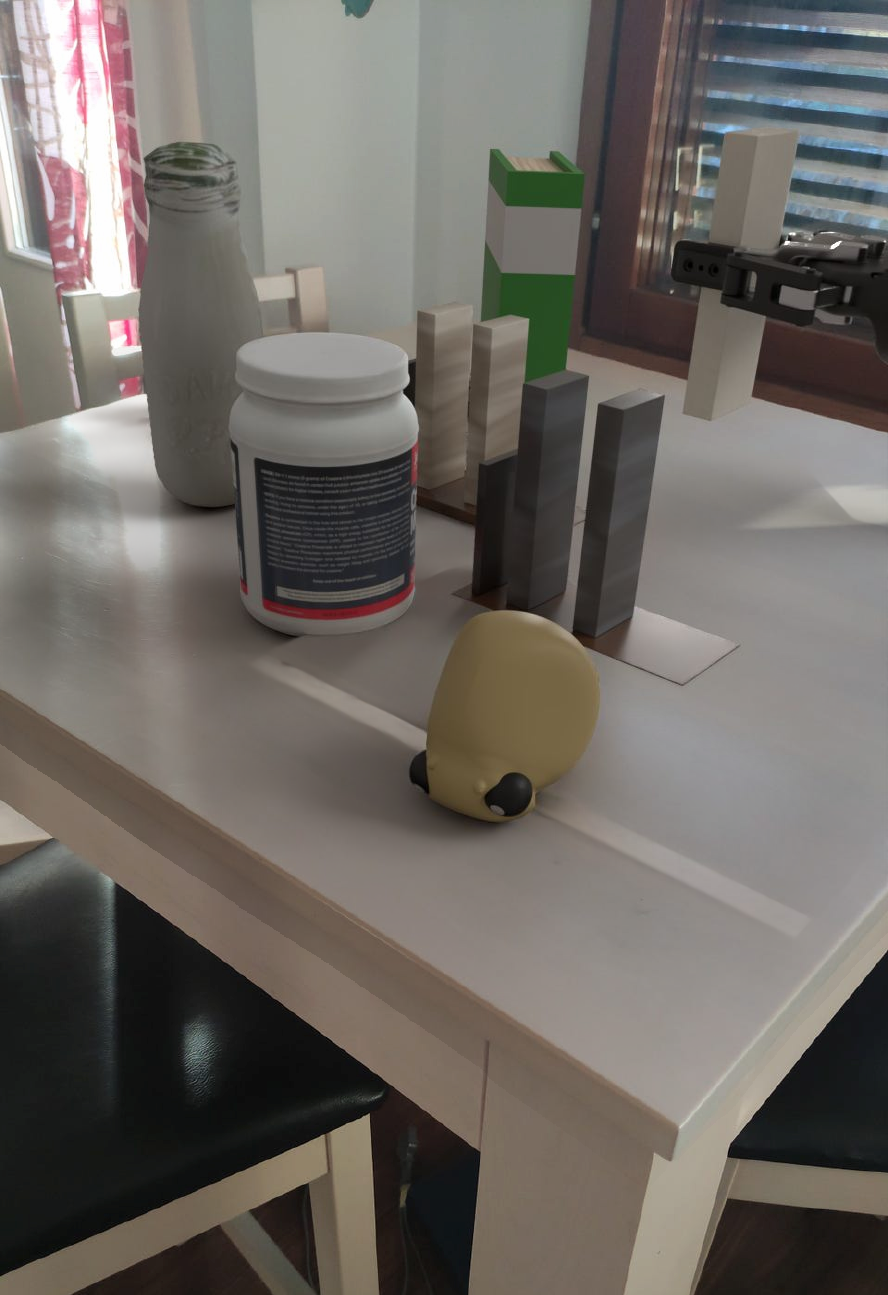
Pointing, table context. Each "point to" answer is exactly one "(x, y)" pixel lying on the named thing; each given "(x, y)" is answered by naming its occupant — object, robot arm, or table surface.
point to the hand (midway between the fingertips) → (701, 253)
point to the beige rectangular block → (754, 219)
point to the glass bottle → (194, 317)
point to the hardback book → (533, 251)
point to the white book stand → (465, 402)
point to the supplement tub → (324, 482)
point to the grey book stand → (541, 524)
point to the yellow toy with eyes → (506, 715)
